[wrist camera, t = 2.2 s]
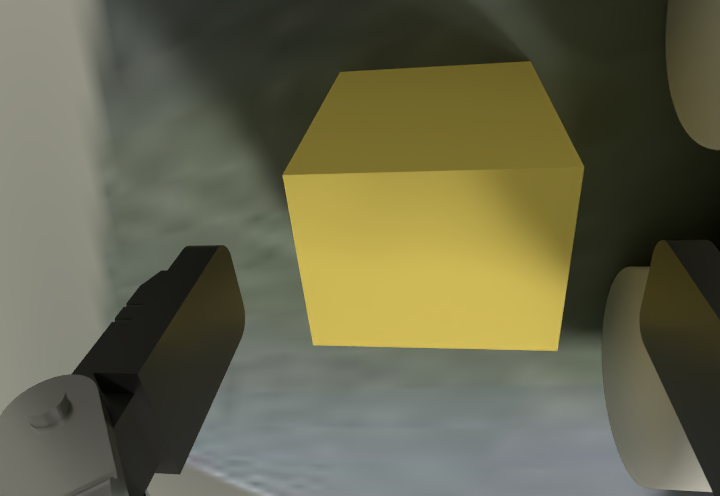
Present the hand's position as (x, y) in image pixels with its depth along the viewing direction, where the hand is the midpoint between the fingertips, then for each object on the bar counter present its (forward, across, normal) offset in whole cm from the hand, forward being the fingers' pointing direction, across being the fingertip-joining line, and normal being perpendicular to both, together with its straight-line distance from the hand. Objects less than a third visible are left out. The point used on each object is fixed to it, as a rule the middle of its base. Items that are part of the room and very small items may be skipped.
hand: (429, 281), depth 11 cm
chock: (+6, 0, 0) cm, 6 cm away
